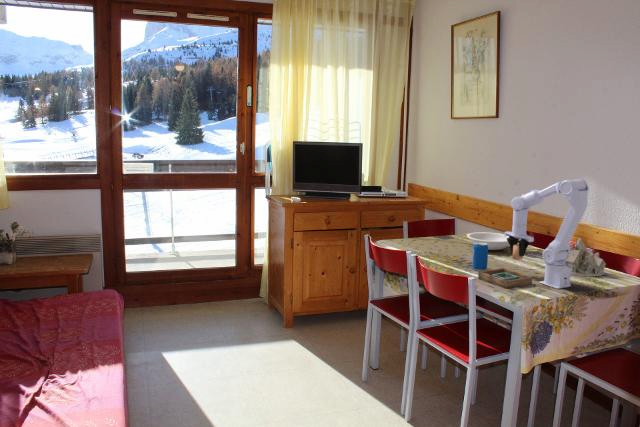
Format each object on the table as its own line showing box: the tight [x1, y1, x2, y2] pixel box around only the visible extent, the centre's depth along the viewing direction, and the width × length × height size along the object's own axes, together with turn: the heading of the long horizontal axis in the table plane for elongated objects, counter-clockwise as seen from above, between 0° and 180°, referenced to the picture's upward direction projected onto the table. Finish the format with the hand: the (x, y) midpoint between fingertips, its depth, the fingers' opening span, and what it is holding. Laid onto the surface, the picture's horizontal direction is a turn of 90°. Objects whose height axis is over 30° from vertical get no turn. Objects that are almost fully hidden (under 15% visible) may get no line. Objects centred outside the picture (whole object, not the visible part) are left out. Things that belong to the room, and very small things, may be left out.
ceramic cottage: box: [565, 237, 607, 277], centre depth 245 cm, size 16×16×15 cm
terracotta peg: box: [512, 244, 523, 261], centre depth 241 cm, size 4×4×6 cm
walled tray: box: [477, 267, 533, 290], centre depth 231 cm, size 16×14×3 cm
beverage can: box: [471, 242, 489, 272], centre depth 249 cm, size 6×6×12 cm
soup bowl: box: [466, 231, 509, 251], centre depth 290 cm, size 24×24×7 cm
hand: (517, 255), depth 241 cm, fingers closed on terracotta peg, 4 cm apart
